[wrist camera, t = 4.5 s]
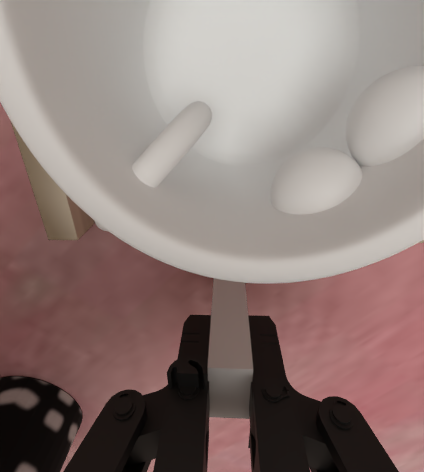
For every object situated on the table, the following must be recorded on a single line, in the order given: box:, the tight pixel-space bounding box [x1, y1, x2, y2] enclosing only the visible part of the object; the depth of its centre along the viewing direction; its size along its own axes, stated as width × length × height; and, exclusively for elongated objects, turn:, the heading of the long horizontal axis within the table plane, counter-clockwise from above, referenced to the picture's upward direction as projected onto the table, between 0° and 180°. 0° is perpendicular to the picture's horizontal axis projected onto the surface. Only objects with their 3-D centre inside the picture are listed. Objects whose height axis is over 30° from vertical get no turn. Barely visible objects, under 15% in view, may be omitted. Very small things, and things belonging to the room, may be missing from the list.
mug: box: [0, 0, 424, 284], centre depth 9 cm, size 12×10×9 cm
